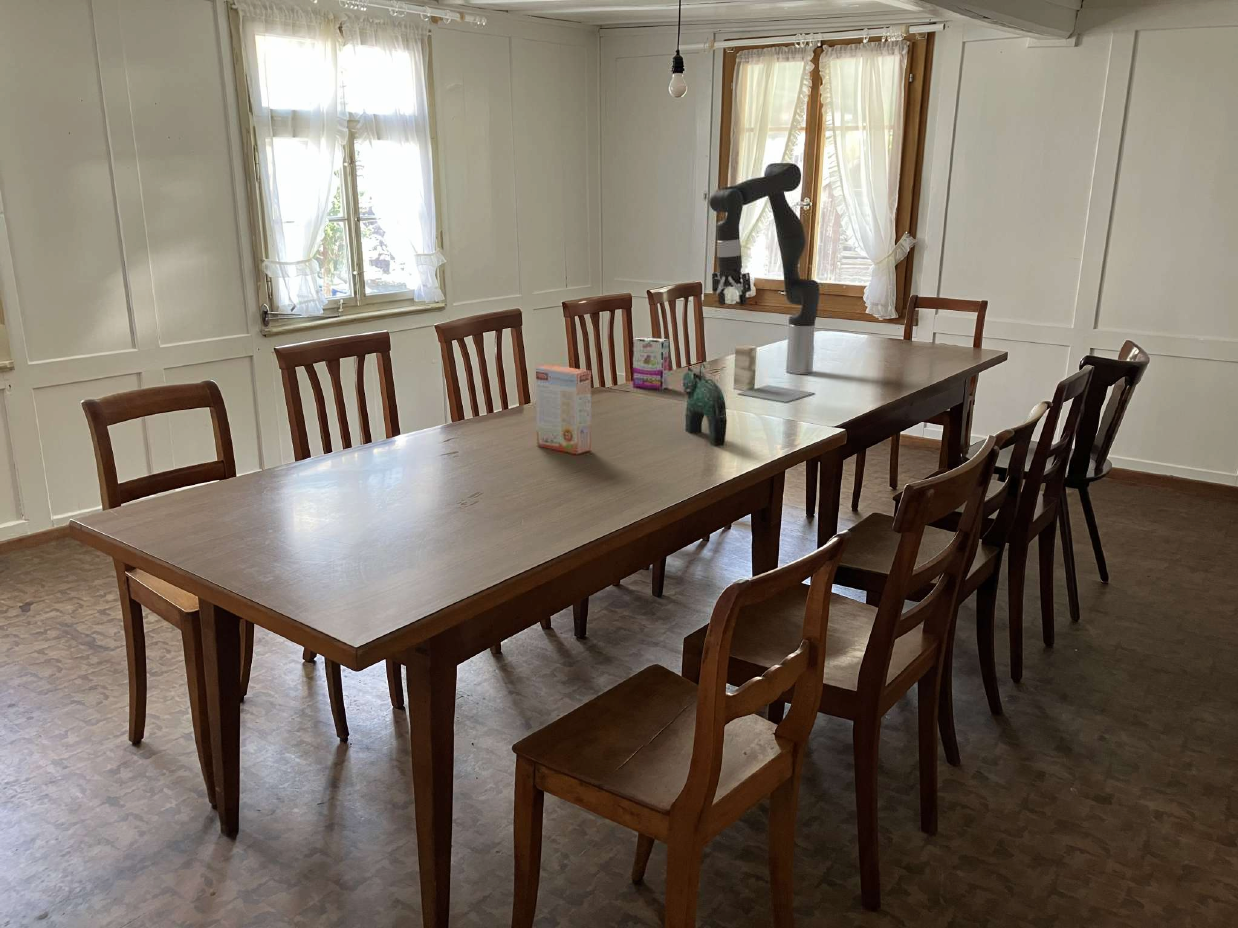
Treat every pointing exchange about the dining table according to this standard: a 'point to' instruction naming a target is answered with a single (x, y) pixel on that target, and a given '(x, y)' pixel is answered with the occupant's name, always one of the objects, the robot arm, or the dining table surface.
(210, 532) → the dining table surface
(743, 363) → the birch block
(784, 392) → the slate rubber mat
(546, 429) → the cracker box
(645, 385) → the candy bar box
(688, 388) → the green animal figurine
